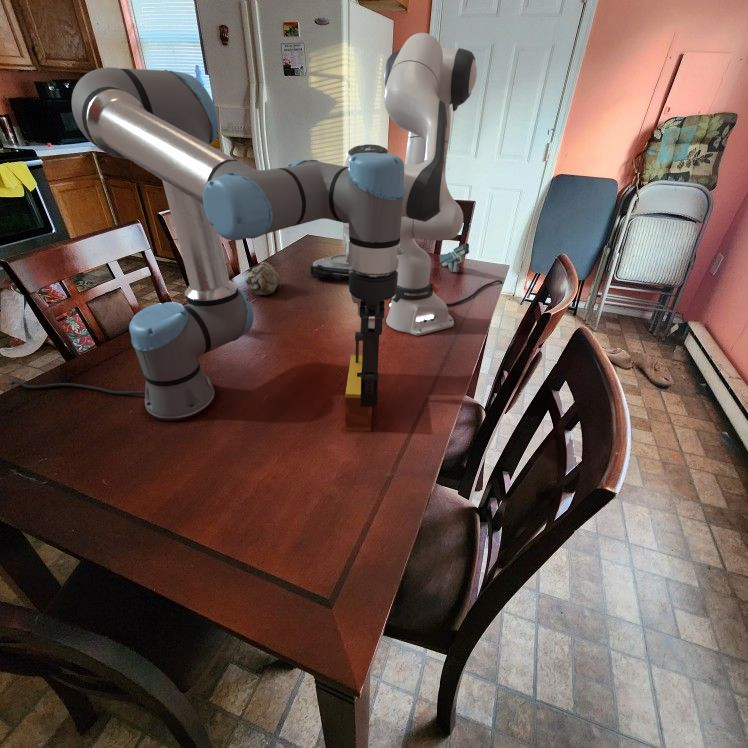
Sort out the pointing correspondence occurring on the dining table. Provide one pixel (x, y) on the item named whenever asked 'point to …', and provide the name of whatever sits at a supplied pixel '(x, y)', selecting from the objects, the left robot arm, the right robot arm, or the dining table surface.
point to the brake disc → (331, 268)
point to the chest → (357, 415)
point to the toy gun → (455, 257)
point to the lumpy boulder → (263, 279)
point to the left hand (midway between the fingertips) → (369, 381)
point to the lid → (355, 371)
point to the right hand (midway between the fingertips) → (363, 305)
